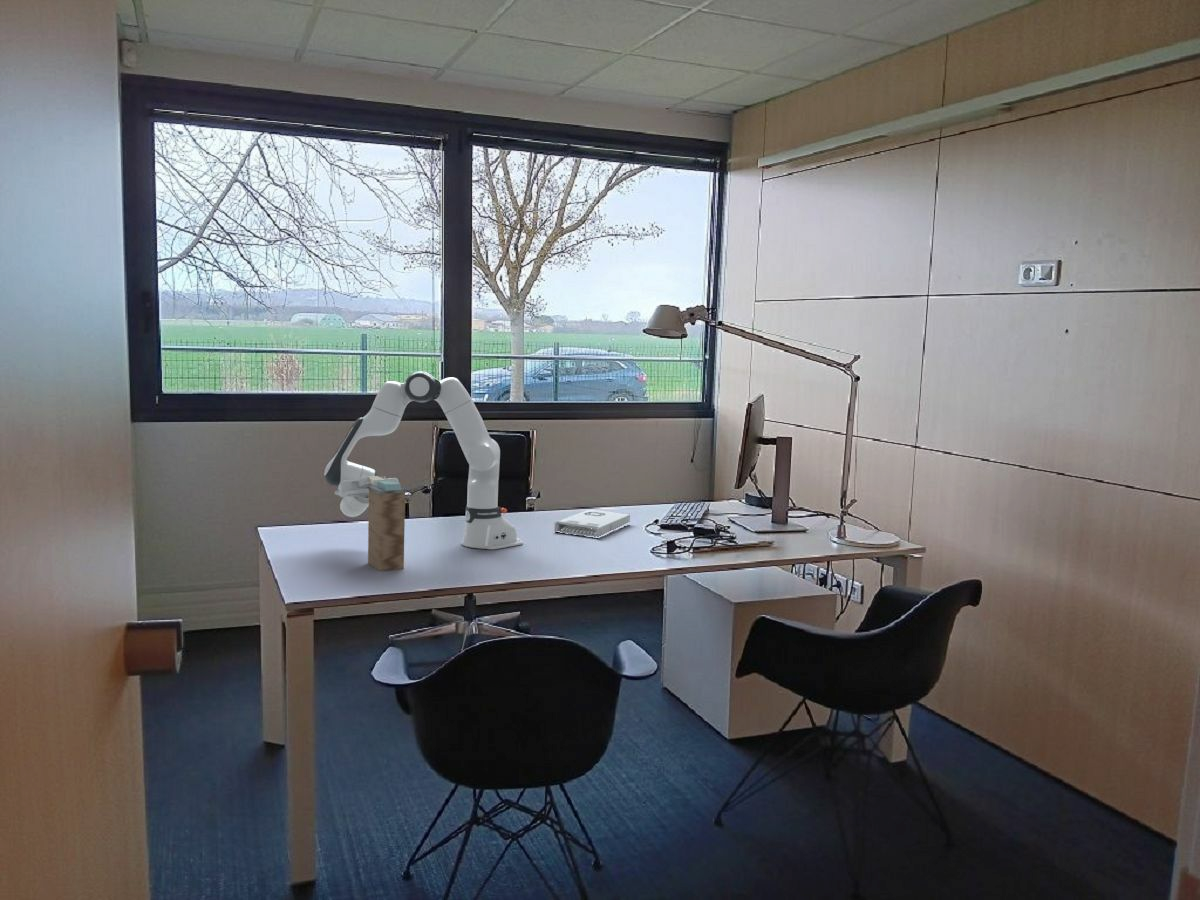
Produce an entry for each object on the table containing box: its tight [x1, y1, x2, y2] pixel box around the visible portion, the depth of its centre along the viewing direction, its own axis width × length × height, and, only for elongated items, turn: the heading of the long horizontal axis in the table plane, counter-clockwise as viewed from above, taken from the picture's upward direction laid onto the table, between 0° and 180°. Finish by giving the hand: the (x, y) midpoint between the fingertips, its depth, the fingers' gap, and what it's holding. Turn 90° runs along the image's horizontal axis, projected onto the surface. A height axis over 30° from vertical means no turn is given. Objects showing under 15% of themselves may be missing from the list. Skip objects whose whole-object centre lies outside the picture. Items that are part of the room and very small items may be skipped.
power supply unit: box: [553, 509, 631, 537], centre depth 360 cm, size 19×33×5 cm, turn 156°
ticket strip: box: [366, 476, 402, 491], centre depth 289 cm, size 5×20×2 cm, turn 34°
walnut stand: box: [367, 485, 408, 572], centre depth 287 cm, size 9×11×26 cm
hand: (375, 478), depth 294 cm, fingers closed on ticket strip, 4 cm apart
